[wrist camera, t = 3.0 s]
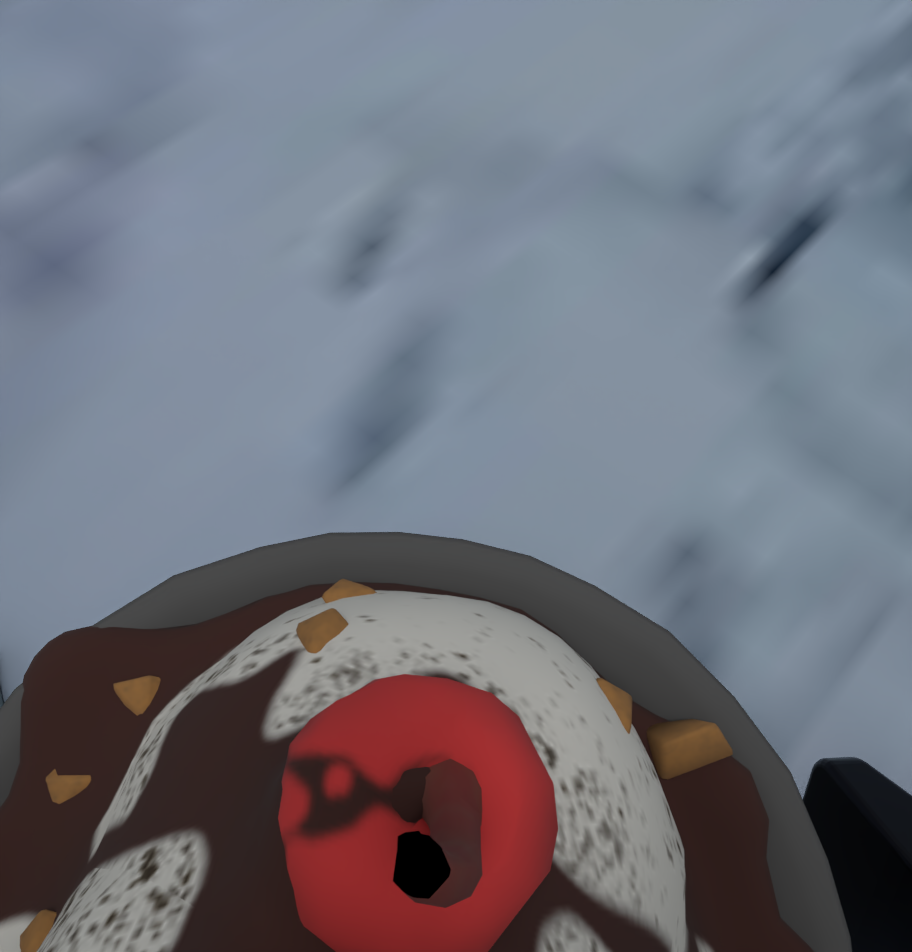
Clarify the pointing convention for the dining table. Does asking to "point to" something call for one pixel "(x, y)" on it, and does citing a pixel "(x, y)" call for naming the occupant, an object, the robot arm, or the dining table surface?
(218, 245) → the dining table surface
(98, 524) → the dining table surface
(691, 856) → the sundae
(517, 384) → the dining table surface
